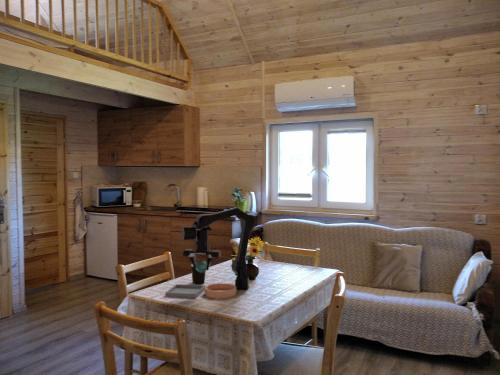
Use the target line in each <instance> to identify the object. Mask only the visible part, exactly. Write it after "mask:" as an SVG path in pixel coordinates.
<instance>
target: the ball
mask: <svg viewBox="0 0 500 375" xmlns="http://www.w3.org/2000/svg"><path fill="white" fill-rule="evenodd" d="M196 270H197V271H198V272H200V273H203V272H205V271H206V272H207V261H205V260H200V261H199V260H198V262H196Z"/></svg>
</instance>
